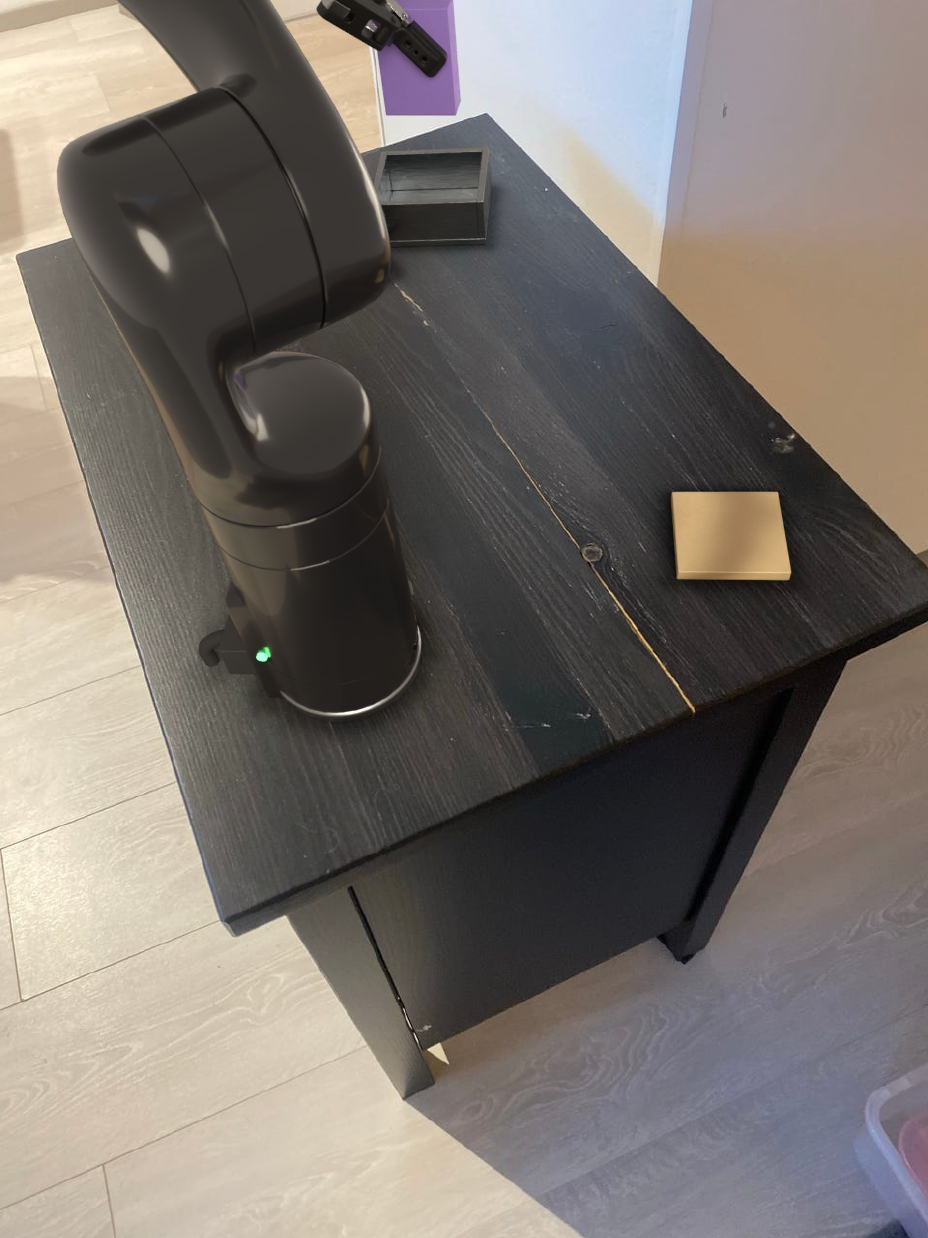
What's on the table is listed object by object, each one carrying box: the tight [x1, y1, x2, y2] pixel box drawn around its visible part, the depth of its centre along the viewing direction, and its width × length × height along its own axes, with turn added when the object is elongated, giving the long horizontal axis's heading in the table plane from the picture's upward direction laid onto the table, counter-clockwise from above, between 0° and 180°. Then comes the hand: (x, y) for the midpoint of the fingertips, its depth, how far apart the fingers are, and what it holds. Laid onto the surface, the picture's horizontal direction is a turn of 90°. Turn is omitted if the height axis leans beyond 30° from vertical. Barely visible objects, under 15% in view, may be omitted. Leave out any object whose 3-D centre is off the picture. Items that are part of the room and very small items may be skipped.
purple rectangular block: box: [376, 0, 462, 117], centre depth 76 cm, size 2×6×8 cm, turn 81°
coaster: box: [670, 491, 792, 581], centre depth 62 cm, size 7×7×1 cm
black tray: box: [373, 147, 492, 248], centre depth 86 cm, size 10×9×4 cm
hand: (443, 58), depth 76 cm, fingers closed on purple rectangular block, 2 cm apart
